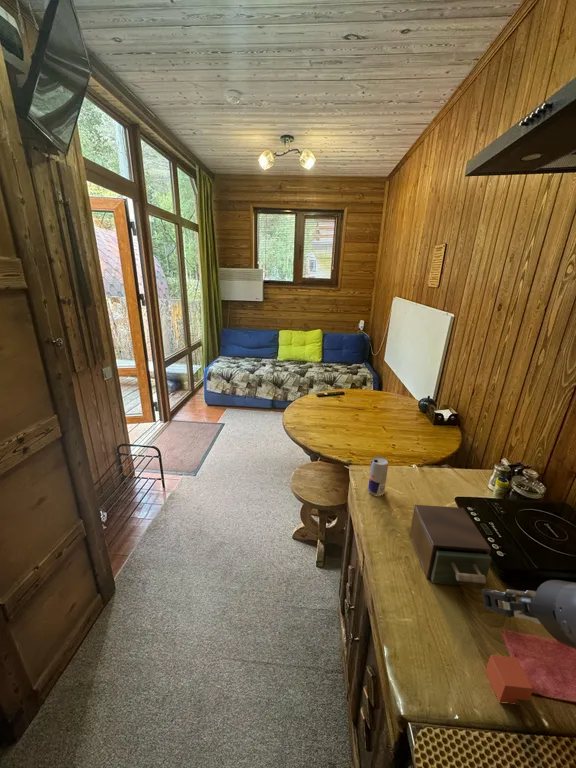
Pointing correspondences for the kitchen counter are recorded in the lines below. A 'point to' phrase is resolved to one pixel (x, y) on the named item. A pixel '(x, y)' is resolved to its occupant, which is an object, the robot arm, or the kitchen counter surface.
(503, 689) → the block
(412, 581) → the kitchen counter surface
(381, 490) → the energy drink
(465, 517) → the cabinet
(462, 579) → the drawer
